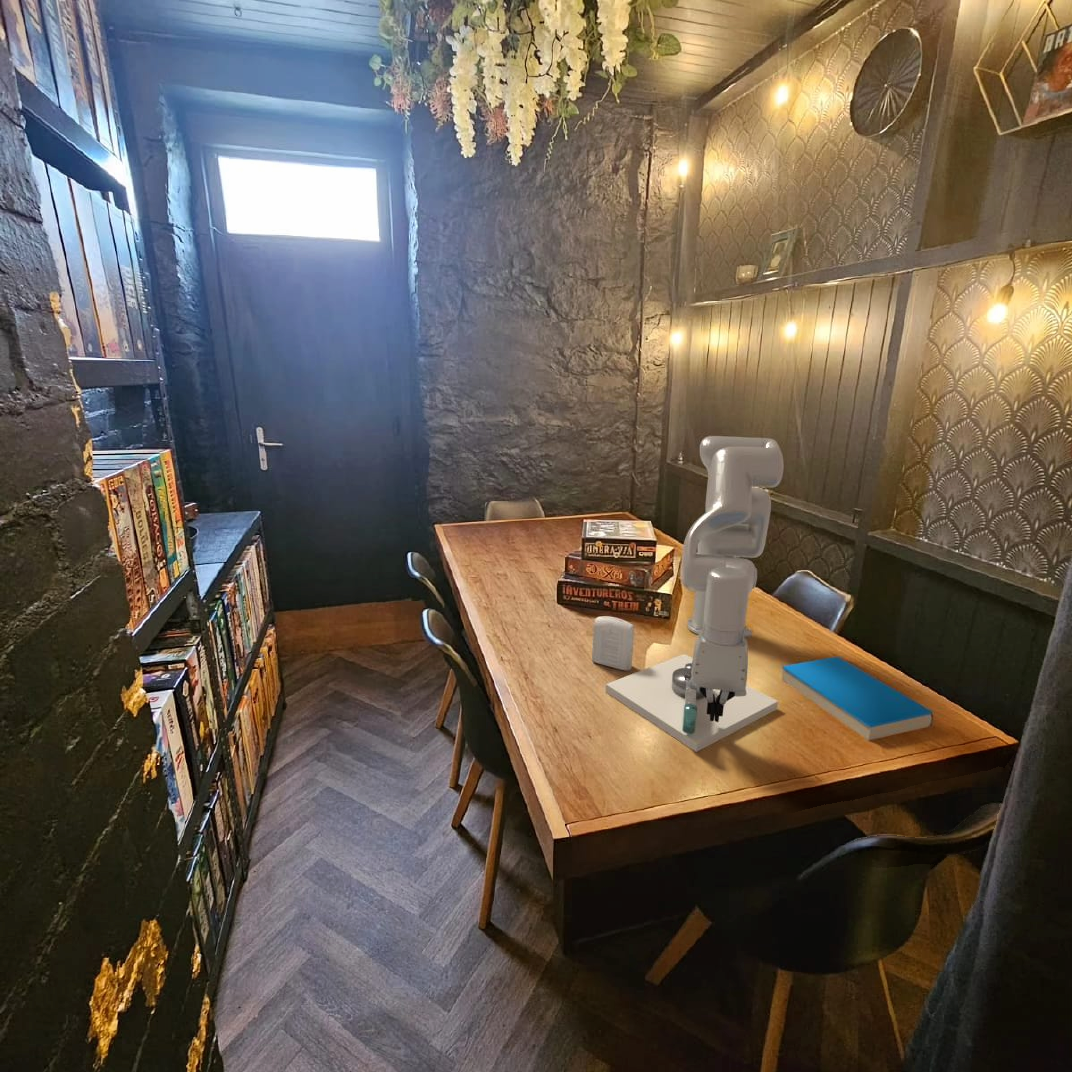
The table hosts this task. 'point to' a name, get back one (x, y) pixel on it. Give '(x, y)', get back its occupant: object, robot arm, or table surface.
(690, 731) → the crank handle
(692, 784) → the table surface
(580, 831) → the table surface
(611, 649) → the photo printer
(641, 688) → the stand base
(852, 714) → the book
